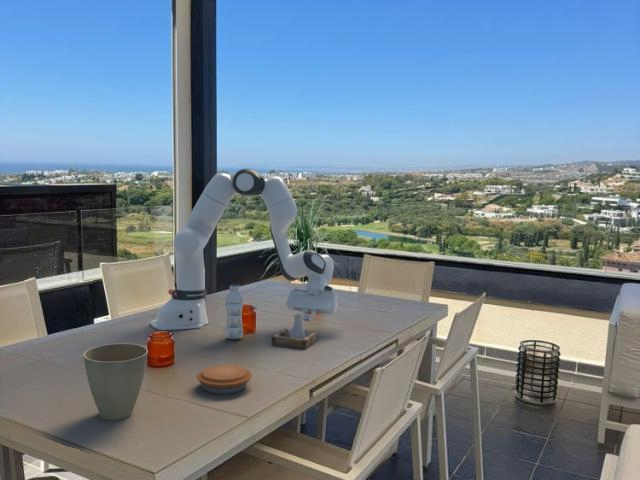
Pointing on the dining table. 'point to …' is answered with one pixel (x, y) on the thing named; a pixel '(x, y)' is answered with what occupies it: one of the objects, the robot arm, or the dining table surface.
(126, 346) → the plant pot
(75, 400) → the dining table surface
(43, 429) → the dining table surface
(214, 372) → the pie
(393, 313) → the dining table surface
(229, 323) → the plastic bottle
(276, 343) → the walnut bay
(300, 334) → the flask
